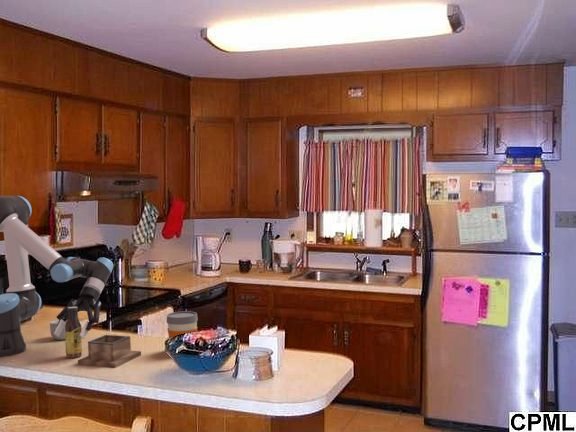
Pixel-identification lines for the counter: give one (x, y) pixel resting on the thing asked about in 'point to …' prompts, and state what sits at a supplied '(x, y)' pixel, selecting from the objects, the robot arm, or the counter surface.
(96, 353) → the box on a tray
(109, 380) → the counter surface
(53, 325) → the teacup
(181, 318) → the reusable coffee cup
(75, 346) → the sauce bottle
